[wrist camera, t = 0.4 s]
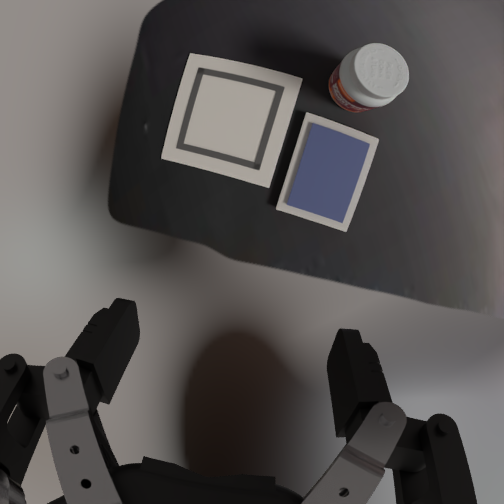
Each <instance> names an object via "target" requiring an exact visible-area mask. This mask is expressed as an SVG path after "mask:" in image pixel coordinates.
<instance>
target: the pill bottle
mask: <svg viewBox="0 0 504 504" xmlns="http://www.w3.org/2000/svg"><path fill="white" fill-rule="evenodd" d="M408 81H409V71H408V67H407V64H406V62H405V60H404V59H403V57H402V56H401V55H400V54H399V53H398V52H397V51H396V50H395V49H393V48H391V47H390V46H387V45H385V44H380V43H371V44H367V45H365V46H363V47H362V48H358V49H355V50H353V51H351V52H350V53H348V54H347V55H346V56H345V58H344V59H343V60H342V61H341V63H340V64H339V65H338V66H337V67H336V69H335V70H334V71H333V73H332V74H331V76H330V79H329V92H330V94H331V97H332V98H333V100H334V101H335V102H336V104H338V105H339V106H340V107H341V108H343V109H345V110H347V111H350V112H363V111H367V110H370V109H373V108H377V107H381V106H384V105H386V104H388V103H390V102H391V101H392V100H393V99H394V98H395V97H396V96H397V95H398V94H400V93H401V92H402V91H403V90H404V89H405V88H406V86H407V84H408Z"/></svg>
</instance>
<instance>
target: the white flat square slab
mask: <svg viewBox="0 0 504 504" xmlns="http://www.w3.org/2000/svg"><path fill="white" fill-rule="evenodd" d="M302 80H303V79H302V78H299V77H296V76H293V75H289V74H286V73H282V72H278V71H275V70H271V69H267V68H263V67H259V66H255V65H250V64H246V63H241V62H237V61H232V60H227V59H222V58H216V57H211V56H205V55H198V54H192V53H190V55H189V58H188V61H187V64H186V67H185V70H184V74H183V77H182V80H181V84H180V87H179V90H178V94H177V97H176V101H175V104H174V108H173V112H172V115H171V119H170V123H169V127H168V131H167V135H166V139H165V143H164V147H163V152H162V156H161V159H165V160H169V161H173V162H177V163H181V164H185V165H189V166H193V167H197V168H201V169H204V170H208V171H212V172H215V173H219V174H223V175H226V176H230V177H233V178H237V179H240V180H244V181H247V182H250V183H254V184H257V185H260V186H264V187H267V188H269V187H270V183H271V180H272V177H273V174H274V170H275V167H276V164H277V161H278V157H279V154H280V151H281V148H282V144H283V141H284V138H285V135H286V131H287V128H288V125H289V122H290V119H291V115H292V112H293V109H294V106H295V102H296V99H297V96H298V93H299V90H300V86H301V83H302Z"/></svg>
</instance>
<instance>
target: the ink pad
mask: <svg viewBox="0 0 504 504" xmlns="http://www.w3.org/2000/svg"><path fill="white" fill-rule="evenodd" d="M378 141H379V139H377V138H375V137H372V136H370V135H367V134H365V133H363V132H360V131H358V130H355V129H352V128H350V127H347V126H345V125H342V124H339V123H336V122H334V121H331V120H328V119H325V118H322V117H320V116H317V115H314V114H311V113H308V112H306V114H305V117H304V120H303V124H302V127H301V130H300V133H299V136H298V140H297V143H296V146H295V149H294V152H293V155H292V159H291V162H290V165H289V168H288V171H287V174H286V178H285V181H284V184H283V187H282V190H281V193H280V196H279V200H278V203H277V206H276V209H277V210H280V211H283V212H287V213H290V214H293V215H296V216H299V217H302V218H305V219H308V220H311V221H314V222H318V223H321V224H324V225H327V226H330V227H333V228H336V229H338V230H341V231H344V232H347V229H348V226H349V224H350V221H351V219H352V216H353V213H354V211H355V208H356V205H357V203H358V200H359V197H360V194H361V191H362V189H363V186H364V183H365V180H366V177H367V174H368V172H369V169H370V166H371V163H372V160H373V157H374V154H375V151H376V147H377V144H378Z"/></svg>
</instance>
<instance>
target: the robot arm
mask: <svg viewBox="0 0 504 504" xmlns="http://www.w3.org/2000/svg"><path fill="white" fill-rule="evenodd" d="M139 337H140V328H139V321H138V315H137V307H136V303H135V301H131V300H126V299H121V298H116V299H115V300H114V302H113V303H112V304H111V306H110V308H109V309H107V308H103V309H101V310H100V311H98V312H97V313H95V314H94V315H93V317H92V318H91V320H90V321H89V322H88V325H86V326H85V328H84V330H83V332H81V334H80V335H79V336H78V338H77V339H76V341H75V343H74V344H73V345H72V347H71V348H70V350H69V351H68V353H67V354H66V356H65V357H58V358H55V359H52V360H51V361H49V362H48V363H47V365H46V366H32V365H27V364H26V362H25V360H24V358H23V357H22V356H20V355H18V354H9V355H6V356H4V357H3V358H1V359H0V504H26V500H25V494H24V491H23V489H22V487H21V484H22V481H23V479H24V476H25V473H26V471H27V468H28V465H29V463H30V460H31V458H32V455H33V453H34V451H35V448H36V446H37V443H38V441H39V438H40V436H41V434H42V432H43V429H44V427H45V425H46V428H47V433H48V438H49V442H50V447H51V451H52V455H53V459H54V463H55V467H56V470H57V474H58V477H59V480H60V484H61V487H62V490H63V493H64V495H63V496H61V497H60V498H57V499H56V500H53V501H51V502H49V503H47V504H366V503H367V501H368V500H369V498H370V497H371V495H372V494H373V492H374V491H375V489H376V487H377V485H378V484H379V482H380V481H381V479H382V477H383V475H384V473H385V470H384V467H385V468H390V469H392V470H393V478H394V486H395V495H396V504H477V500H476V495H475V491H474V486H473V482H472V477H471V473H470V470H469V465H468V462H467V458H466V454H465V451H464V447H463V444H462V440H461V437H460V434H459V430H458V427H457V425H456V423H455V421H454V420H453V419H452V418H451V417H449V416H447V415H445V414H435V415H433V416H431V417H430V418H429V419H428V421H423V420H418V419H413V418H409V417H406V415H405V413H404V411H403V410H402V409H401V408H400V407H399V406H398V405H396V404H394V403H392V400H391V396H390V393H389V390H388V386H387V383H386V380H385V377H384V374H383V373H382V367H381V365H380V361H379V358H378V355H377V352H376V351H375V350H374V349H373V347H372V346H371V345H370V344H369V343H363V342H362V339H361V335H360V332H359V331H358V330H353V329H339V330H338V332H337V335H336V337H335V340H334V343H333V345H332V348H331V351H330V353H329V356H328V360H327V373H328V380H329V387H330V394H331V401H332V408H333V415H334V424H335V431H336V437H346V443H347V444H346V445H345V446H344V448H343V449H342V451H341V452H340V453H339V454H338V456H337V457H336V458H335V460H334V461H333V463H332V464H331V465H330V466H329V468H328V469H327V470H326V471H325V473H324V474H323V475H322V477H321V478H320V479H319V480H318V481H317V482H316V484H315V485H314V486H313V487H312V488H311V489H310V491H309V492H308V493H307V494H306V495H305V496H304V497H301V496H300V495H299V494H297V493H296V492H294V491H292V490H290V489H288V488H286V487H283V486H281V485H277V484H275V477H270V476H254V475H243V474H241V475H232V476H220V477H205V476H202V475H200V474H197V473H195V472H192V471H190V470H188V469H185V468H183V467H181V466H179V465H176V464H174V463H169V462H165V461H160V460H156V459H152V458H148V457H145V456H144V457H143V460H142V463H133V464H126V465H121V466H119V464H118V463H117V460H116V458H115V456H114V454H113V452H112V450H111V448H110V445H109V442H108V440H107V437H106V434H105V431H104V429H103V426H102V423H101V420H100V417H99V414H98V411H97V406H98V404H99V402H103V403H106V404H110V401H111V399H112V397H113V395H114V393H115V391H116V389H117V386H118V384H119V382H120V380H121V378H122V375H123V373H124V371H125V369H126V367H127V365H128V363H129V361H130V359H131V357H132V355H133V353H134V351H135V349H136V347H137V345H138V342H139ZM15 405H17V406H16V408H15V410H14V412H13V414H12V416H11V418H10V420H9V422H8V423H7V421H8V419H9V417H10V415H11V413H12V411H13V409H14V407H15Z"/></svg>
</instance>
